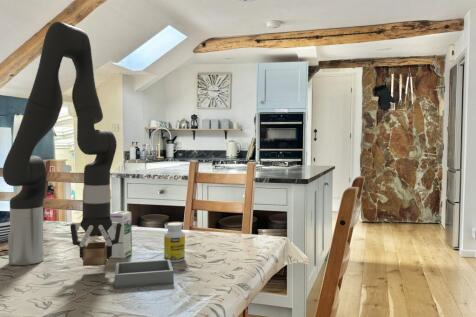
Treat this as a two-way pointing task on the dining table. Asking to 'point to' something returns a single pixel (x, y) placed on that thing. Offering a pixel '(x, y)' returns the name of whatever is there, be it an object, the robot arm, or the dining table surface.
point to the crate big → (143, 273)
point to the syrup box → (121, 234)
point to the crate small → (95, 253)
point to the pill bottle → (174, 243)
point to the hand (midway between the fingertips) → (96, 258)
